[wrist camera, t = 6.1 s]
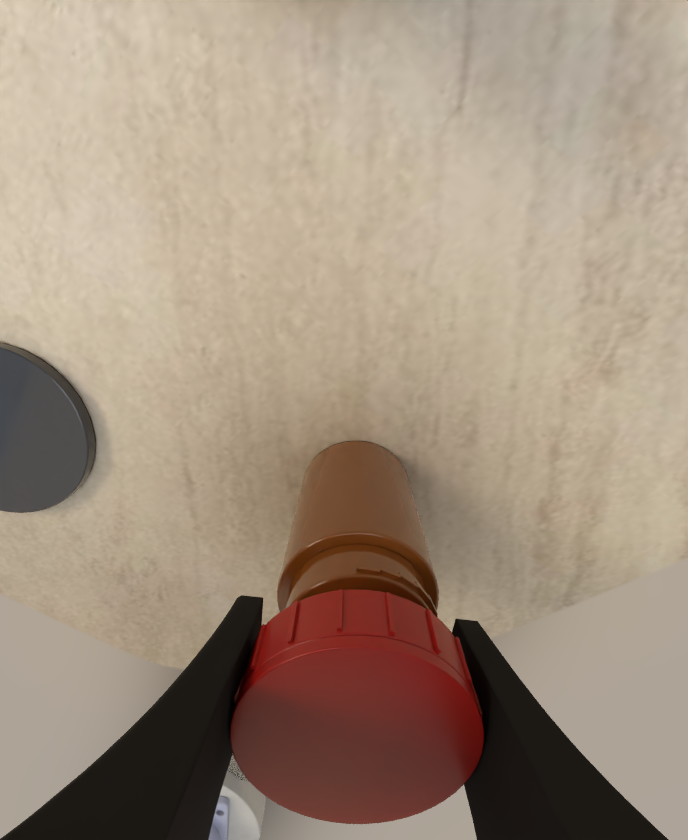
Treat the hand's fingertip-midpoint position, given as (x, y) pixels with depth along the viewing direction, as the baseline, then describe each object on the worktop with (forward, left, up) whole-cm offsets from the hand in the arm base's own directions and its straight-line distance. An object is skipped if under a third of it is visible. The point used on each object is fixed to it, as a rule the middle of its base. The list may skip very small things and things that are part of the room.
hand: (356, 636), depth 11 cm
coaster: (+1, +16, -8) cm, 18 cm away
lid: (0, 0, +2) cm, 2 cm away
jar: (0, 0, -8) cm, 8 cm away
